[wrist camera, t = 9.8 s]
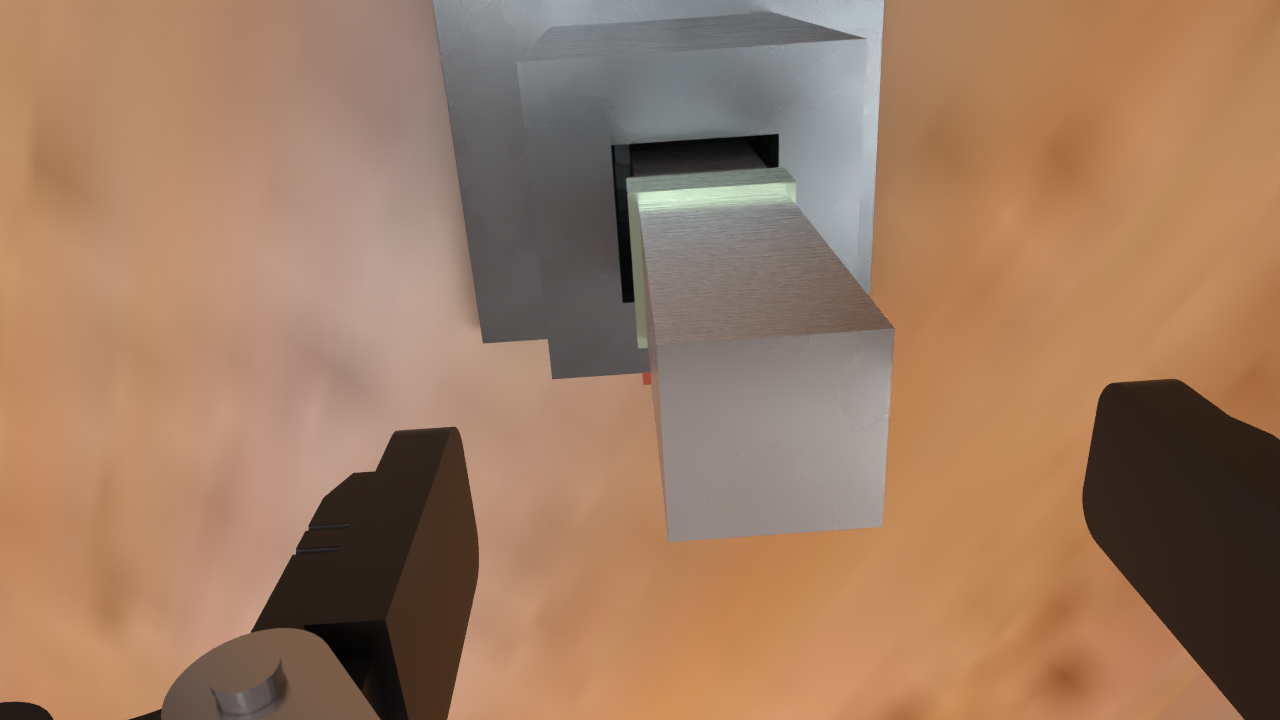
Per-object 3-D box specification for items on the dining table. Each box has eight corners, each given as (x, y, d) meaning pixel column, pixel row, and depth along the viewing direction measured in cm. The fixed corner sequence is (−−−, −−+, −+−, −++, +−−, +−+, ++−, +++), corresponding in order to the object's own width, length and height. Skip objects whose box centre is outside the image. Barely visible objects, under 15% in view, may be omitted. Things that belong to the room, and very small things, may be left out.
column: (728, 104, 27) (911, 312, 11) (731, 211, 29) (895, 537, 12) (620, 111, 27) (640, 331, 11) (627, 218, 29) (654, 554, 12)
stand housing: (877, -119, 31) (1064, -177, 18) (859, 303, 38) (987, 475, 25) (427, -89, 31) (302, -126, 18) (487, 329, 38) (426, 516, 25)
